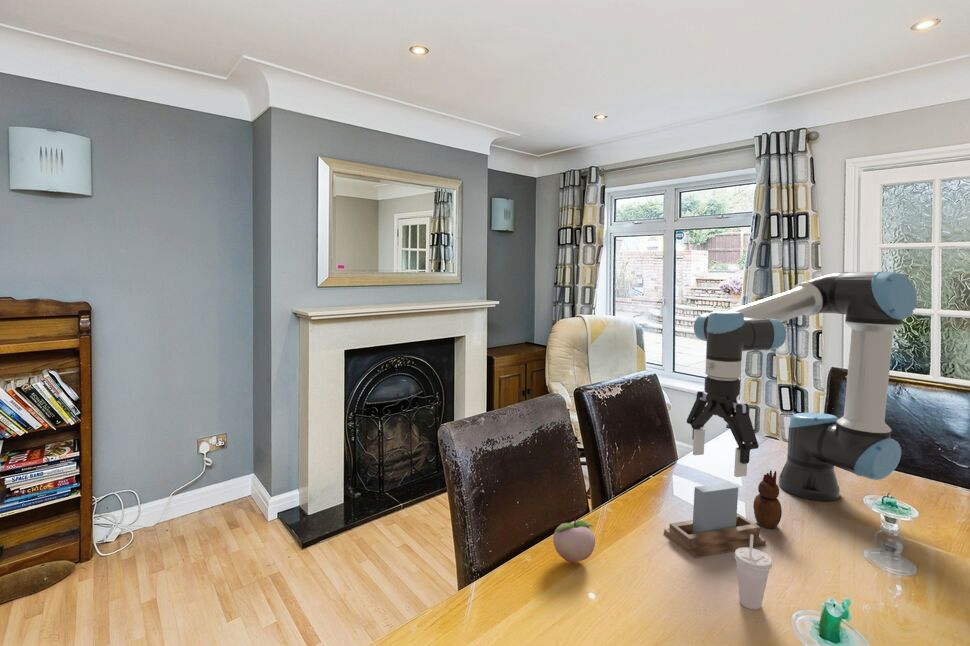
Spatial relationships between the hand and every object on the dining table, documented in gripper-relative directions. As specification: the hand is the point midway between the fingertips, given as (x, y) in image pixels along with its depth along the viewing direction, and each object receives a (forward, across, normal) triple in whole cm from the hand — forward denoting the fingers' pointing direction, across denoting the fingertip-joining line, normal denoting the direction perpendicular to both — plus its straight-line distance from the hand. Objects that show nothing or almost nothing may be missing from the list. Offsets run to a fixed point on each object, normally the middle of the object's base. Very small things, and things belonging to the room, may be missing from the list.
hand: (718, 464), depth 116 cm
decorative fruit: (+19, 0, -37) cm, 42 cm away
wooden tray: (+18, 0, 0) cm, 19 cm away
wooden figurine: (+19, -2, +18) cm, 26 cm away
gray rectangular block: (+18, 0, 0) cm, 18 cm away
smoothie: (+19, +21, -10) cm, 30 cm away
